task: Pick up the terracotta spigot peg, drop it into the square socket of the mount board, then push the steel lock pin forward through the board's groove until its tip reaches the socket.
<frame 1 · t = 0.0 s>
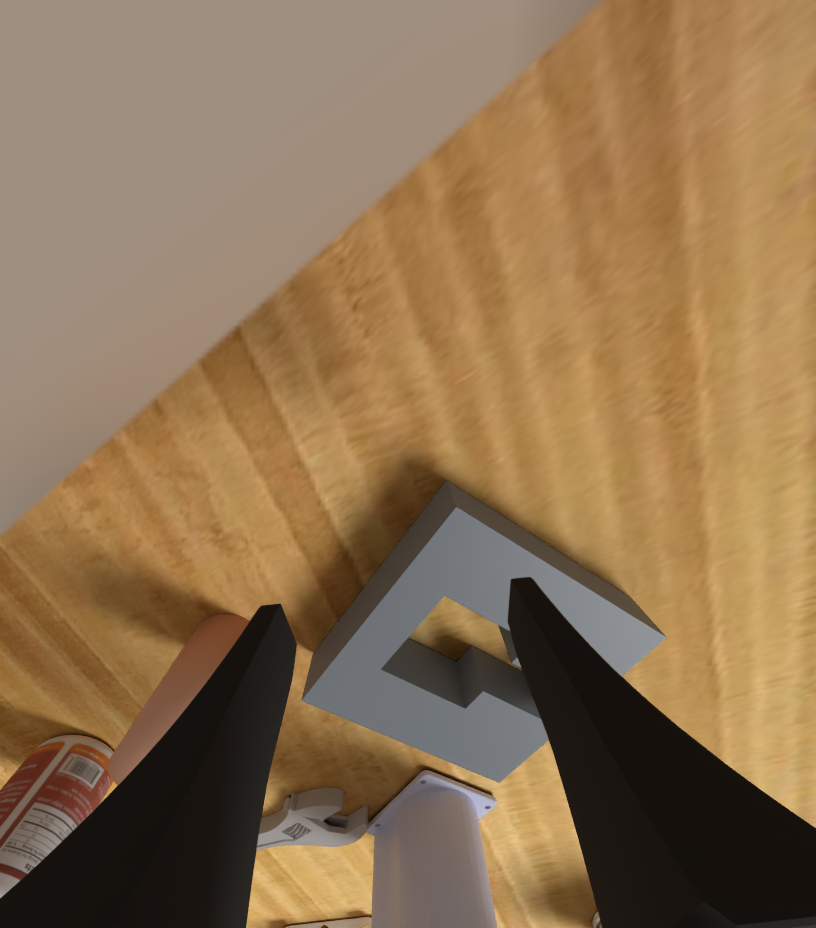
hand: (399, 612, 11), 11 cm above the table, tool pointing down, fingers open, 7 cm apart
pill bottle: (83, 754, 28), on the table
spigot peg: (228, 639, 25), on the table
adjustable wrench: (233, 819, 33), on the table
mount board: (470, 625, 25), on the table
lock pin: (583, 700, 26), point 2 cm above the table, slide at 0.0 cm
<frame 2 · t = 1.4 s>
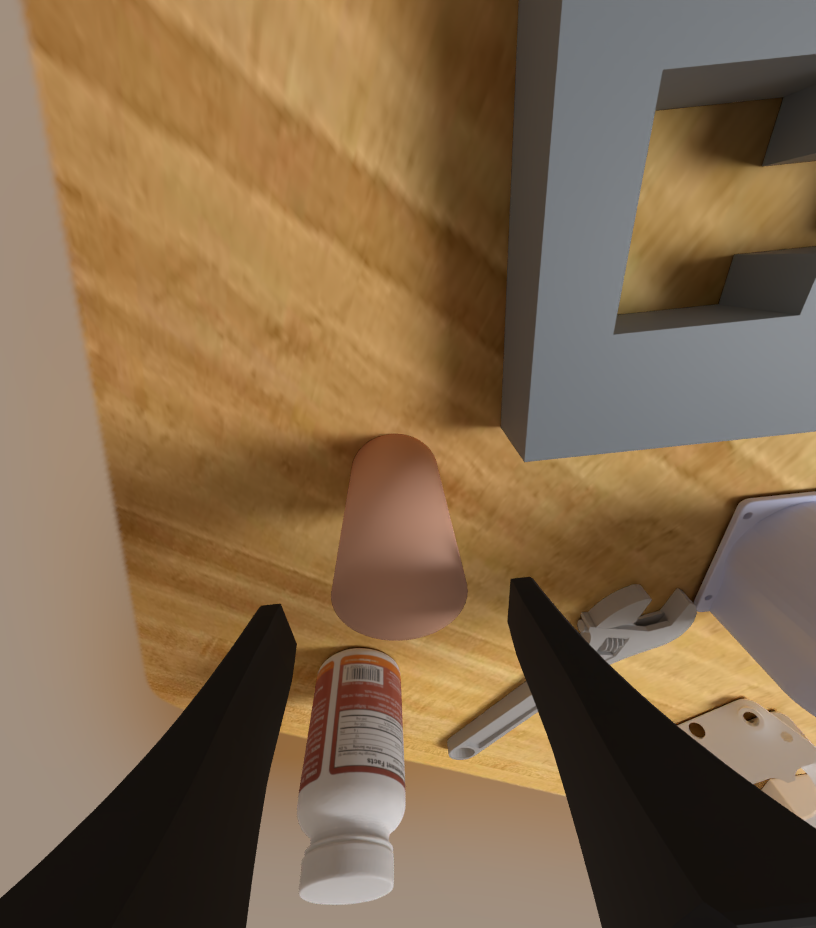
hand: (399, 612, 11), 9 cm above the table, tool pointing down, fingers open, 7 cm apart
milk: (784, 783, 44), on the table
pill bottle: (360, 666, 27), on the table
spigot peg: (394, 472, 19), on the table
adjustable wrench: (536, 668, 30), on the table
mount board: (715, 216, 14), on the table
mounting bracket: (711, 725, 36), on the table
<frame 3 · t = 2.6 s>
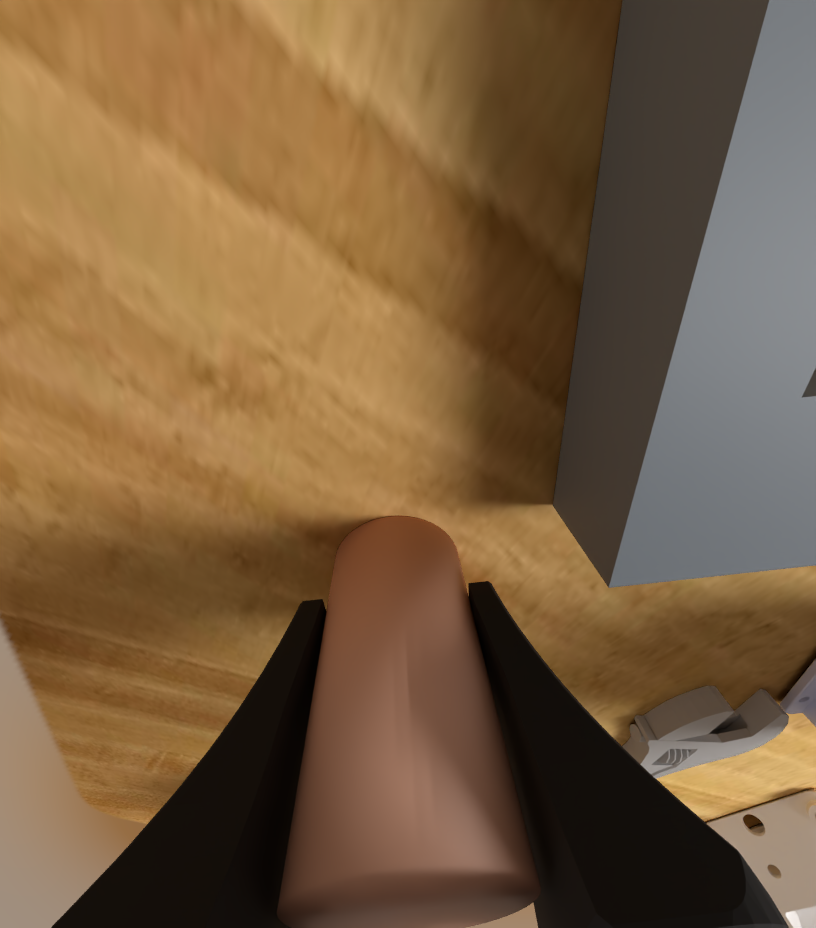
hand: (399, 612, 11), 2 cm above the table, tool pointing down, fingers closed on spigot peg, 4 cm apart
spigot peg: (397, 565, 13), on the table, touching gripper
adjustable wrench: (570, 766, 24), on the table
mounting bracket: (766, 812, 30), on the table
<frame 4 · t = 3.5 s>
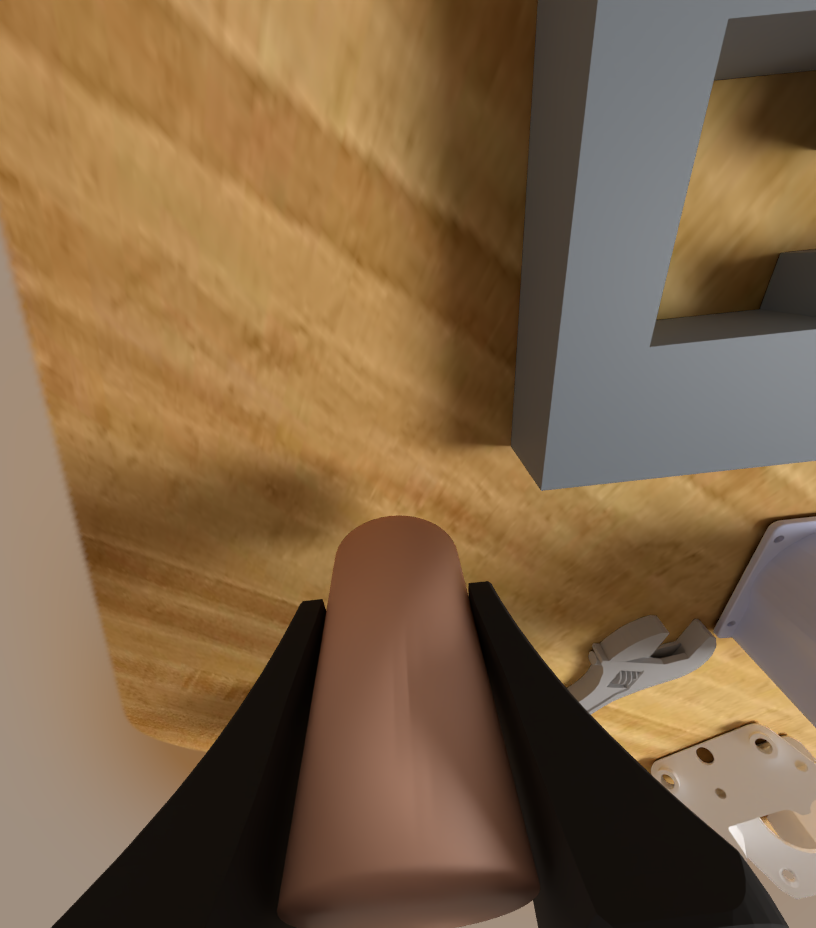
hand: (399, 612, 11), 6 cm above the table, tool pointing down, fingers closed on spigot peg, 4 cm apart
milk: (797, 802, 42), on the table
spigot peg: (397, 564, 13), point 4 cm above the table, touching gripper
adjustable wrench: (543, 698, 28), on the table
mount board: (761, 208, 12), on the table
mounting bracket: (718, 749, 34), on the table
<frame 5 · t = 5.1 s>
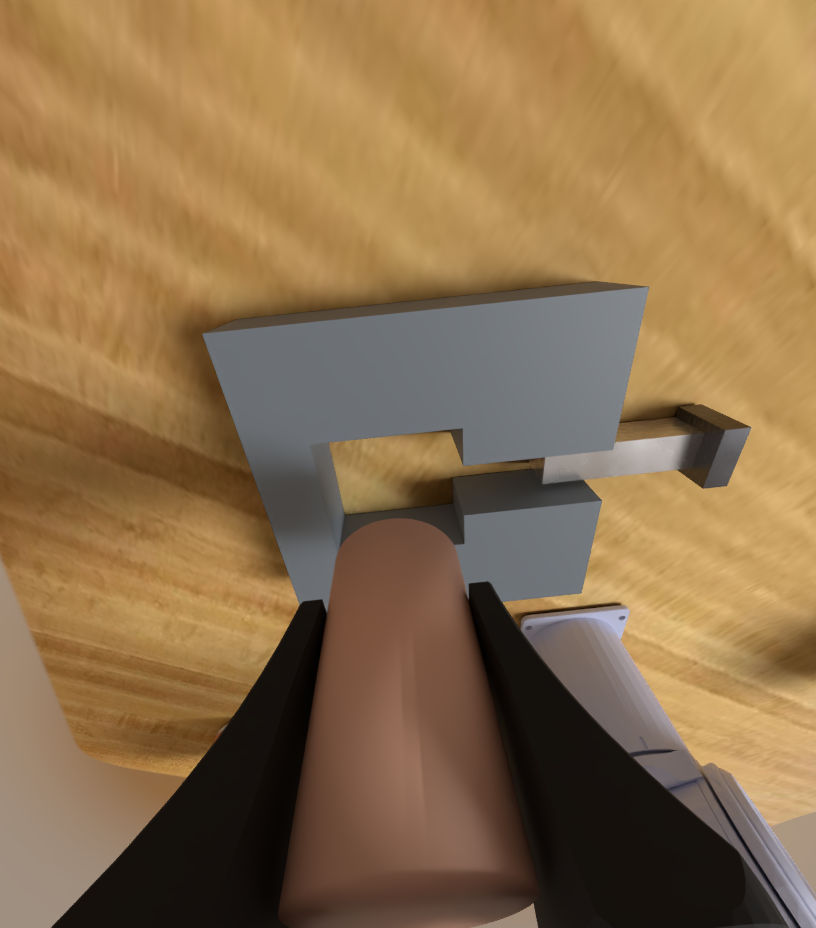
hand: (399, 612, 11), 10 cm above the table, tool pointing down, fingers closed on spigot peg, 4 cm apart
spigot peg: (397, 566, 13), point 8 cm above the table, touching gripper
mount board: (429, 458, 20), on the table
lock pin: (627, 453, 18), point 2 cm above the table, slide at 0.0 cm
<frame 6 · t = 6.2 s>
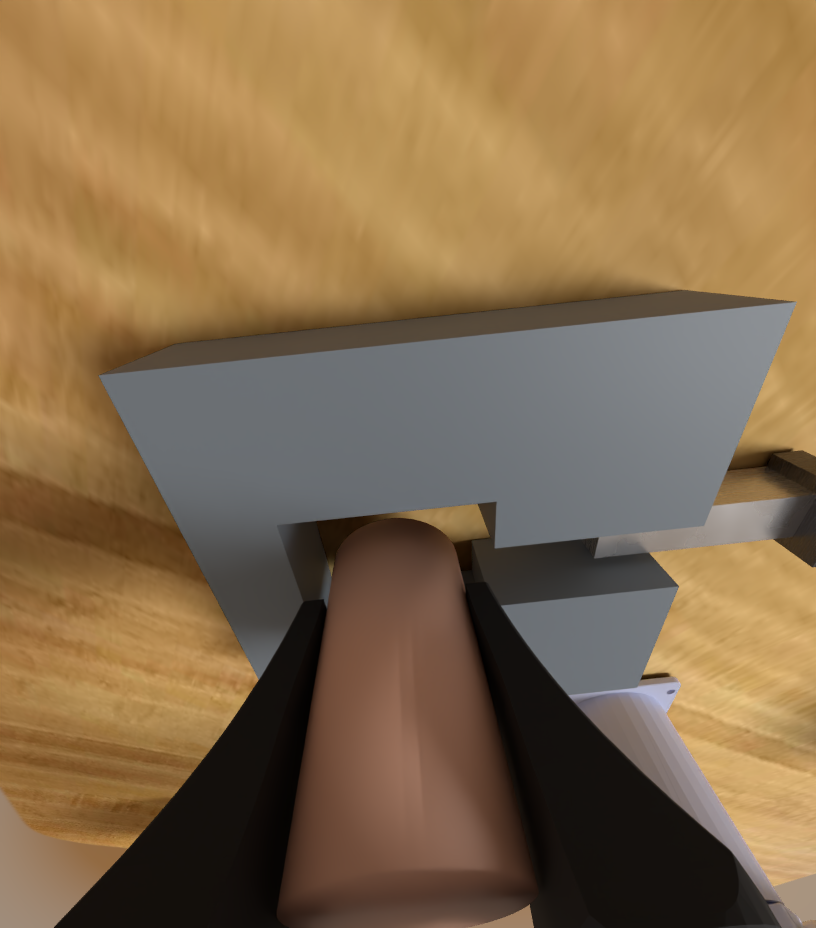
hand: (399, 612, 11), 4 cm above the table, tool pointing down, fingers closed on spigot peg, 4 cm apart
spigot peg: (396, 566, 13), point 2 cm above the table, touching gripper
mount board: (442, 518, 15), on the table
lock pin: (707, 517, 14), point 2 cm above the table, slide at 0.0 cm
when the fingers open (4 cm above the table, at t = 6.4 s): spigot peg drops 2 cm, resting in mount board.
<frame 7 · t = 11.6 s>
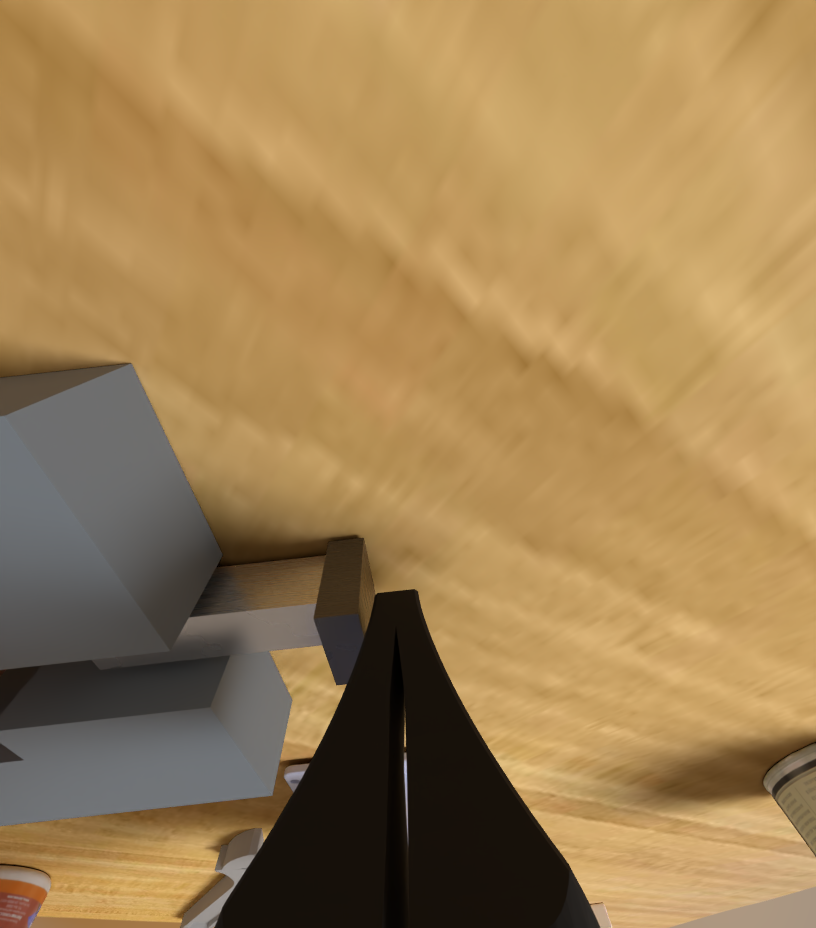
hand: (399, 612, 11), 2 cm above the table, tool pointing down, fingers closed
milk: (576, 909, 43), on the table
pill bottle: (10, 872, 27), on the table
adjustable wrench: (231, 868, 30), on the table
mount board: (17, 607, 13), on the table
lock pin: (232, 621, 12), point 2 cm above the table, slide at 1.6 cm, touching gripper
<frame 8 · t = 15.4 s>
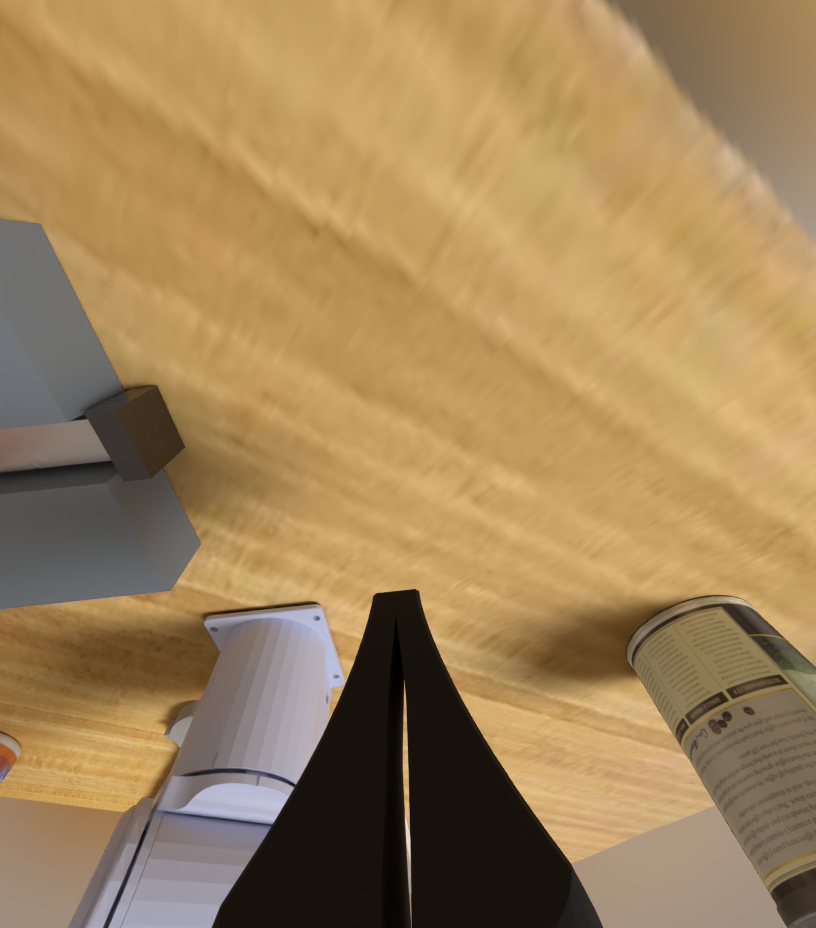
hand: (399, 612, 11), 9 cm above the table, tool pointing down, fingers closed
coffee can: (686, 635, 29), on the table
adjustable wrench: (185, 753, 35), on the table
lock pin: (54, 441, 16), point 2 cm above the table, slide at 4.8 cm
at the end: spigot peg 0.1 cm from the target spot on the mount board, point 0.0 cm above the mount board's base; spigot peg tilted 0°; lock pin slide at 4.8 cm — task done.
